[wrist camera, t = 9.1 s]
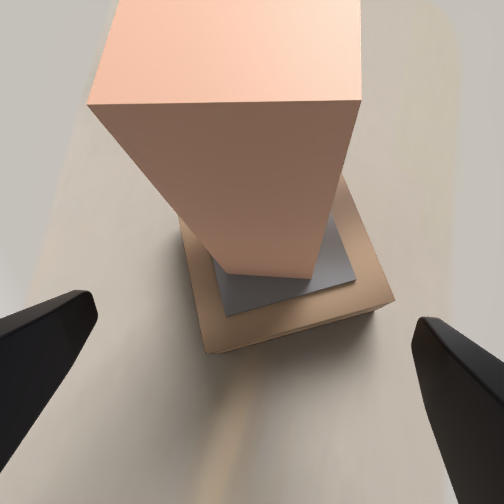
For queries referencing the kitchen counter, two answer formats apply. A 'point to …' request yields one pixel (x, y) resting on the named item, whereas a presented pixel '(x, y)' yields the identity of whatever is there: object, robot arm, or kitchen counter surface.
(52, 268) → the kitchen counter surface
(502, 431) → the robot arm
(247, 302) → the walnut plinth
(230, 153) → the peach rectangular block
